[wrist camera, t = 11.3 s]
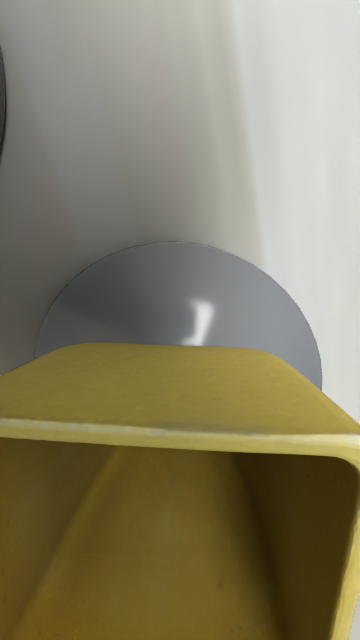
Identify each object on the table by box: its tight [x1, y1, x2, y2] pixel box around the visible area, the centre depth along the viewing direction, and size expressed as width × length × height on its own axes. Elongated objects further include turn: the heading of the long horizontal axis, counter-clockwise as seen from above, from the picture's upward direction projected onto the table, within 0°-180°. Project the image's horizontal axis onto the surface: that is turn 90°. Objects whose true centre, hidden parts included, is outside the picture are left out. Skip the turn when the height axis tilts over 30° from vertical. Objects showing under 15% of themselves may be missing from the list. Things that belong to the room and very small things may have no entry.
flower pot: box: [0, 342, 360, 640], centre depth 11 cm, size 9×9×9 cm
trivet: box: [34, 242, 322, 391], centre depth 15 cm, size 14×14×1 cm
